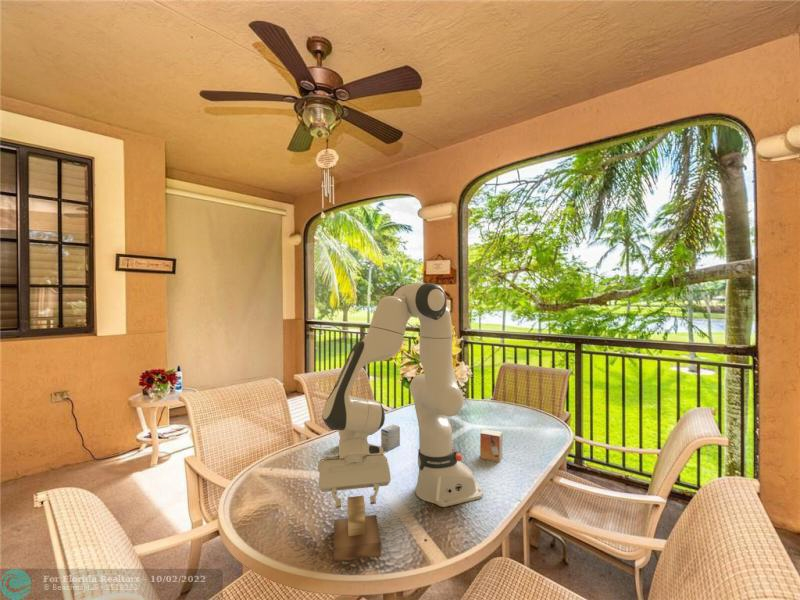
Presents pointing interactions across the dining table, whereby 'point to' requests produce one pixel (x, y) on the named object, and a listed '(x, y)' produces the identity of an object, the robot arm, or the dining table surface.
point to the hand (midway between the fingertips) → (355, 505)
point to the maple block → (356, 516)
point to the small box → (491, 445)
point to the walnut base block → (356, 540)
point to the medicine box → (390, 437)
